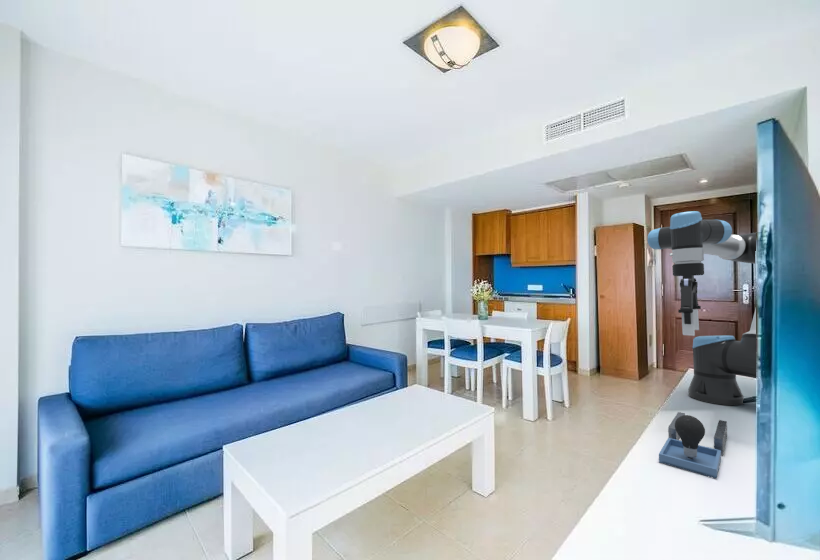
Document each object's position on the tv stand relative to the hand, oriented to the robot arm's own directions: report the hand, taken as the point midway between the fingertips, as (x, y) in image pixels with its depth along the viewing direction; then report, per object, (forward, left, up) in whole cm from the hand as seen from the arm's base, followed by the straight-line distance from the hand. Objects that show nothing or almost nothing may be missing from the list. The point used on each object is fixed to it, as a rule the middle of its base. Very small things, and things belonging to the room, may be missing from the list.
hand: (691, 332), depth 105 cm
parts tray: (+6, +29, -27) cm, 41 cm away
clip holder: (+2, +14, -27) cm, 31 cm away
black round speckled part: (+6, +29, -27) cm, 40 cm away
